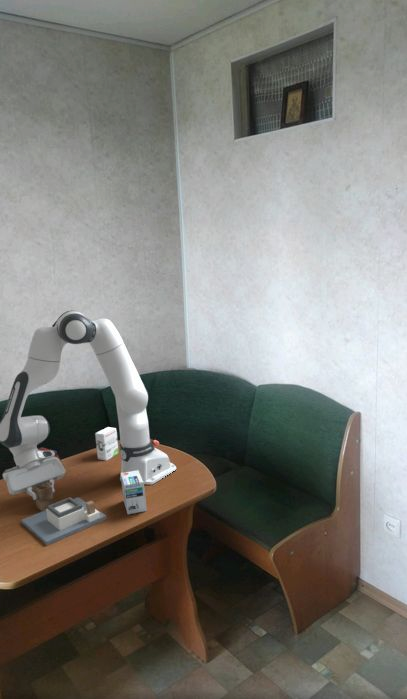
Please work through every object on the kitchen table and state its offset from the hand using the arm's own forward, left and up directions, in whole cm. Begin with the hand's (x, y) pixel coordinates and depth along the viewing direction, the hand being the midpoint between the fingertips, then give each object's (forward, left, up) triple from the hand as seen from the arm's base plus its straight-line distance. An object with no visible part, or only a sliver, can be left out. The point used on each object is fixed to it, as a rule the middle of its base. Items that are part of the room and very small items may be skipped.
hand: (44, 496), depth 185 cm
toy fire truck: (-14, -25, -5) cm, 29 cm away
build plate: (0, +13, -4) cm, 14 cm away
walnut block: (0, -1, -4) cm, 4 cm away
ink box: (-39, -23, -5) cm, 45 cm away
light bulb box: (-22, +22, -5) cm, 32 cm away
